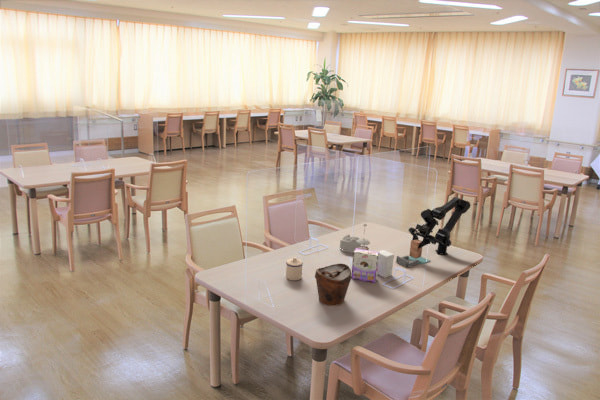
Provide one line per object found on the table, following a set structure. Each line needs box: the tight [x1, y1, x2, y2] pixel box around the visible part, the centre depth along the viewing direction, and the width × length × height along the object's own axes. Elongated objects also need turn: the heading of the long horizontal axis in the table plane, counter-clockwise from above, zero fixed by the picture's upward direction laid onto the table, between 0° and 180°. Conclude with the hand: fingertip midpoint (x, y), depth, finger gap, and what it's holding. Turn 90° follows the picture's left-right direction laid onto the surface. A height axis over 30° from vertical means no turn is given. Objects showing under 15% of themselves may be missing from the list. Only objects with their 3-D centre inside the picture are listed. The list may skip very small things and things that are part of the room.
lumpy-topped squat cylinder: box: [339, 234, 362, 253], centre depth 315 cm, size 10×13×9 cm
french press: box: [357, 223, 371, 251], centre depth 294 cm, size 10×12×25 cm
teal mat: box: [408, 256, 431, 266], centre depth 306 cm, size 10×11×1 cm
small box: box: [377, 249, 395, 278], centre depth 281 cm, size 8×6×13 cm
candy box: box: [351, 248, 380, 284], centre depth 274 cm, size 14×6×16 cm, turn 71°
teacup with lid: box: [285, 256, 303, 281], centre depth 273 cm, size 12×9×12 cm
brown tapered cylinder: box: [314, 263, 352, 307], centre depth 248 cm, size 18×20×18 cm
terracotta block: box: [408, 239, 423, 259], centre depth 301 cm, size 5×5×10 cm
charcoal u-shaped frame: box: [395, 254, 419, 268], centre depth 299 cm, size 10×9×4 cm
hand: (414, 246), depth 300 cm, fingers closed on terracotta block, 5 cm apart
